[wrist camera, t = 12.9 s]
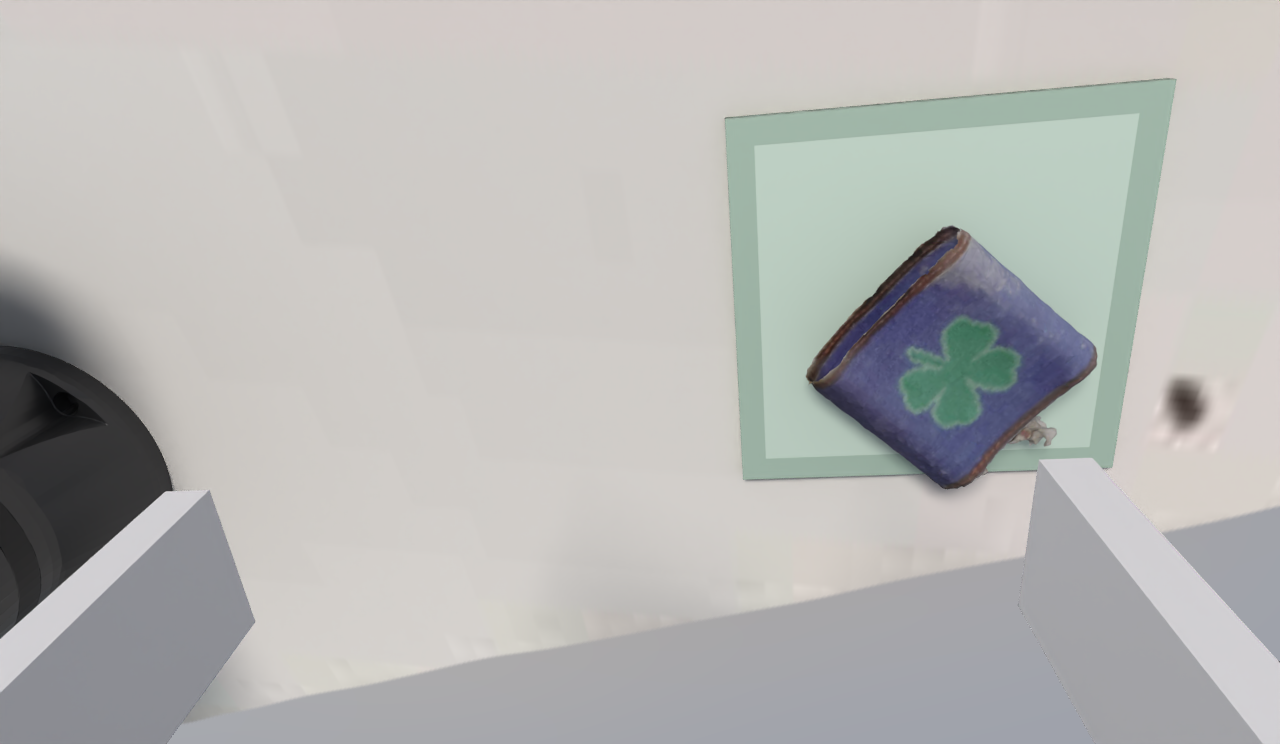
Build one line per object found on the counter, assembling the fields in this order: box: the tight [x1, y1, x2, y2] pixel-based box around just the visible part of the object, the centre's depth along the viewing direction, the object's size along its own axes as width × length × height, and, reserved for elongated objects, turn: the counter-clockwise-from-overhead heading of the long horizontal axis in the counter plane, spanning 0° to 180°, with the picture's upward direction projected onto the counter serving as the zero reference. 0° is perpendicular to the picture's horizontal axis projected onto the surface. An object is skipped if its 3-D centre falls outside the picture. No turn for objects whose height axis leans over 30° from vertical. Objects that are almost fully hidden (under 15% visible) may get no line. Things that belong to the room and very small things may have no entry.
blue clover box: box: [806, 225, 1098, 489], centre depth 36 cm, size 9×3×11 cm
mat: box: [725, 78, 1176, 480], centre depth 37 cm, size 18×18×1 cm
